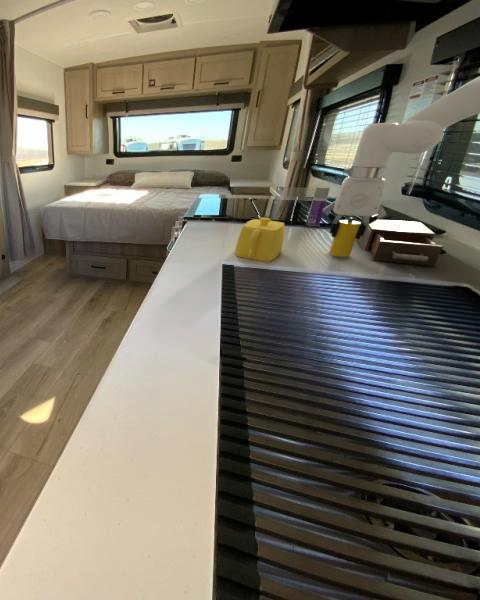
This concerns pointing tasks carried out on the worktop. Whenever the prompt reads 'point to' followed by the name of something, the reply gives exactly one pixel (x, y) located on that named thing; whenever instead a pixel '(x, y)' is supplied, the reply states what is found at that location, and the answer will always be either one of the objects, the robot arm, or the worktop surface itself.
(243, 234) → the teapot
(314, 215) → the container
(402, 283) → the worktop surface
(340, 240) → the yellow cylinder
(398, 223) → the cabinet
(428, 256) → the drawer
